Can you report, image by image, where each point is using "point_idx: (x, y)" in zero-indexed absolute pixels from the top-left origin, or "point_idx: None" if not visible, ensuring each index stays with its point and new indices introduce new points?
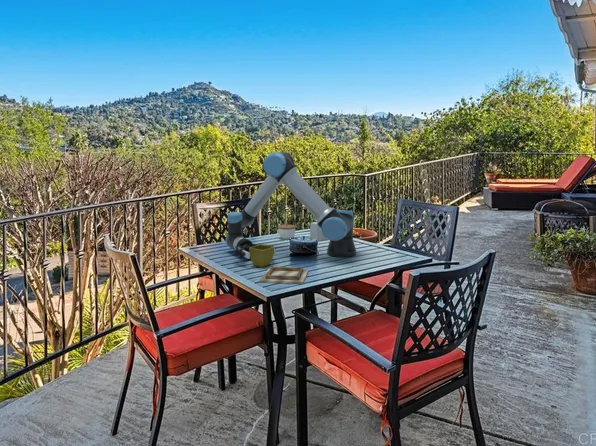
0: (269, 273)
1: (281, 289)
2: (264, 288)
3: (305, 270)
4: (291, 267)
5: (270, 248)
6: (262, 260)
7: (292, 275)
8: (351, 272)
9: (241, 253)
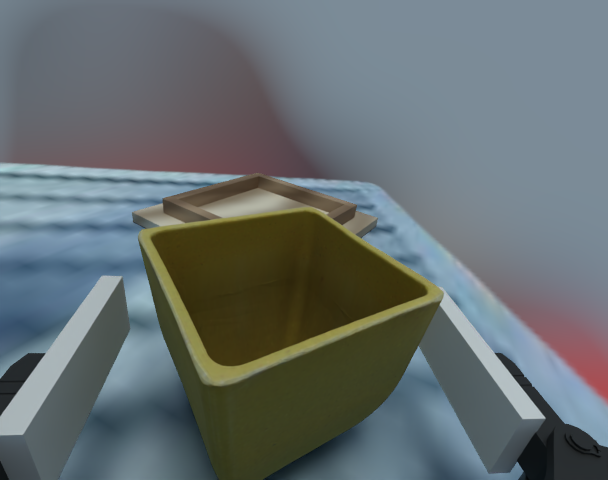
0: (333, 211)
1: (328, 187)
2: (372, 201)
3: (149, 212)
4: (203, 213)
5: (216, 221)
6: (305, 295)
7: (244, 204)
8: (17, 175)
9: (528, 394)
